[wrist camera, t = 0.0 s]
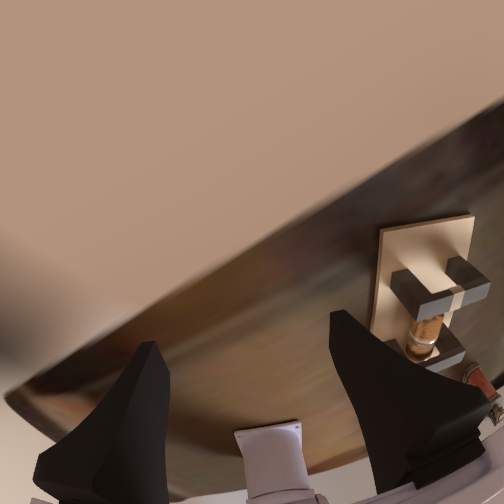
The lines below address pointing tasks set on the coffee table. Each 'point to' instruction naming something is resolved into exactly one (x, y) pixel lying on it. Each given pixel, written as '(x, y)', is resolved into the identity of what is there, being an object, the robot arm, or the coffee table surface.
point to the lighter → (485, 392)
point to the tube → (422, 338)
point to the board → (425, 283)
